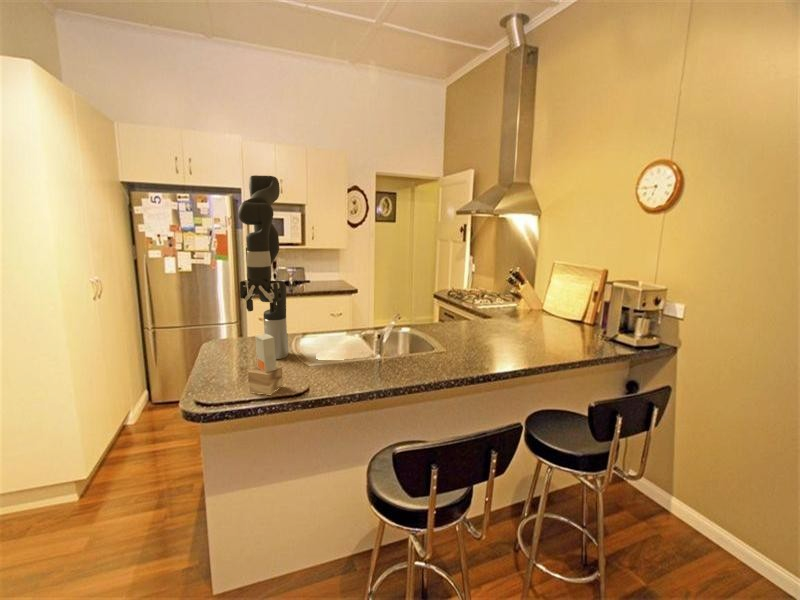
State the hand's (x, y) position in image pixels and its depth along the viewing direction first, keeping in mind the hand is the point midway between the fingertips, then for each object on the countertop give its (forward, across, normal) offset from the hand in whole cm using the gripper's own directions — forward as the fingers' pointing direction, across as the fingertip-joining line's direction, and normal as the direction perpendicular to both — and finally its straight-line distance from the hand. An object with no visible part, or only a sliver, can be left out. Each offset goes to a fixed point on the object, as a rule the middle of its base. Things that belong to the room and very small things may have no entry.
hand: (261, 311), depth 135 cm
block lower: (+28, -1, +1) cm, 28 cm away
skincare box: (+20, -2, +1) cm, 20 cm away
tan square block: (+24, -1, +1) cm, 24 cm away
